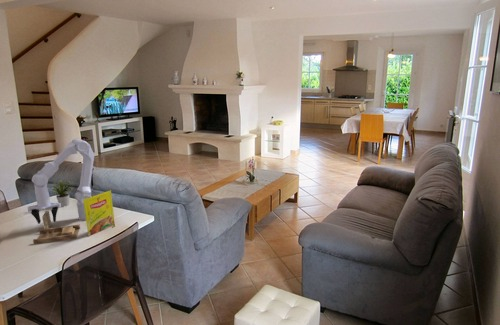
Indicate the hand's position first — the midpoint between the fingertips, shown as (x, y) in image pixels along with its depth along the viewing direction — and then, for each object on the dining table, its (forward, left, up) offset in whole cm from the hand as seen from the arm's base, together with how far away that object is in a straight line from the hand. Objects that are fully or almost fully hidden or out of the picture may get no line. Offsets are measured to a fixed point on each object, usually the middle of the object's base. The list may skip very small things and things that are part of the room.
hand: (47, 222), depth 180 cm
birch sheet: (0, 0, -3) cm, 3 cm away
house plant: (-1, -33, -4) cm, 33 cm away
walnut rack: (-7, +12, -4) cm, 14 cm away
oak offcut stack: (-12, +12, -3) cm, 17 cm away
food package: (-27, +12, -4) cm, 30 cm away
